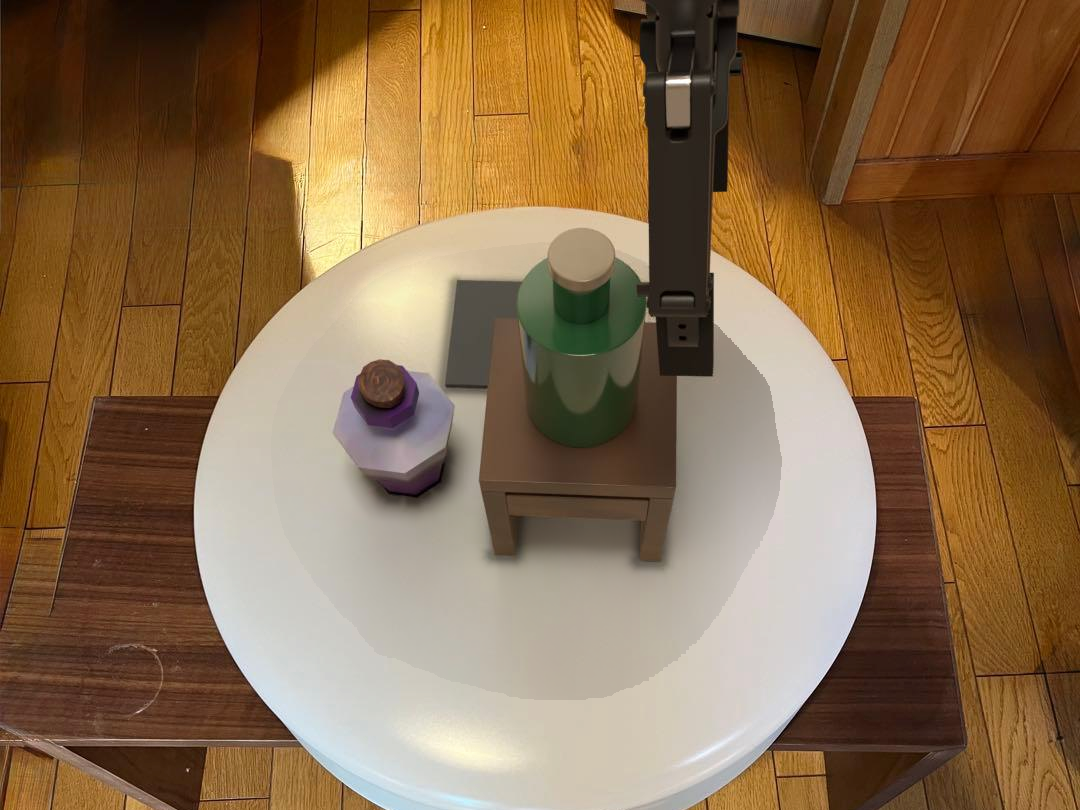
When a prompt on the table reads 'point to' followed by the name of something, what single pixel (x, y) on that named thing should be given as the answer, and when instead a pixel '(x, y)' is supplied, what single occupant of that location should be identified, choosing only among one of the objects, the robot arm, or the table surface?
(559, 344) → the green bottle
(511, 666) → the table surface
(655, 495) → the walnut table
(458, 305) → the felt mat
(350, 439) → the potion bottle
